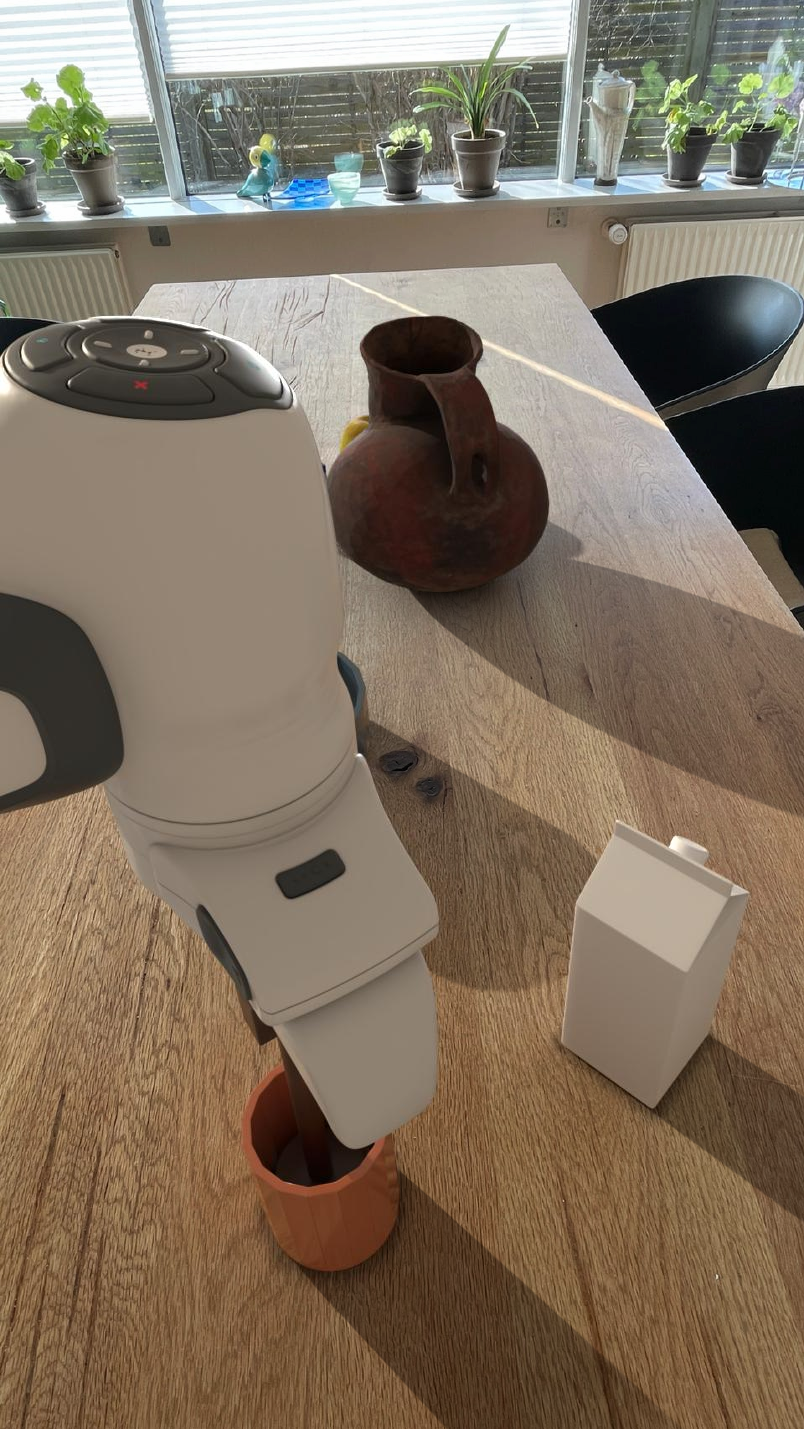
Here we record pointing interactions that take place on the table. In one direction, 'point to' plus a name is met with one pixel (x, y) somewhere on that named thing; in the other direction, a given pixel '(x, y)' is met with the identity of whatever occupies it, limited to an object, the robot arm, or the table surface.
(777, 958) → the table surface
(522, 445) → the jug
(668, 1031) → the milk carton
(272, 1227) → the crock
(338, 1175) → the brown wooden masher
